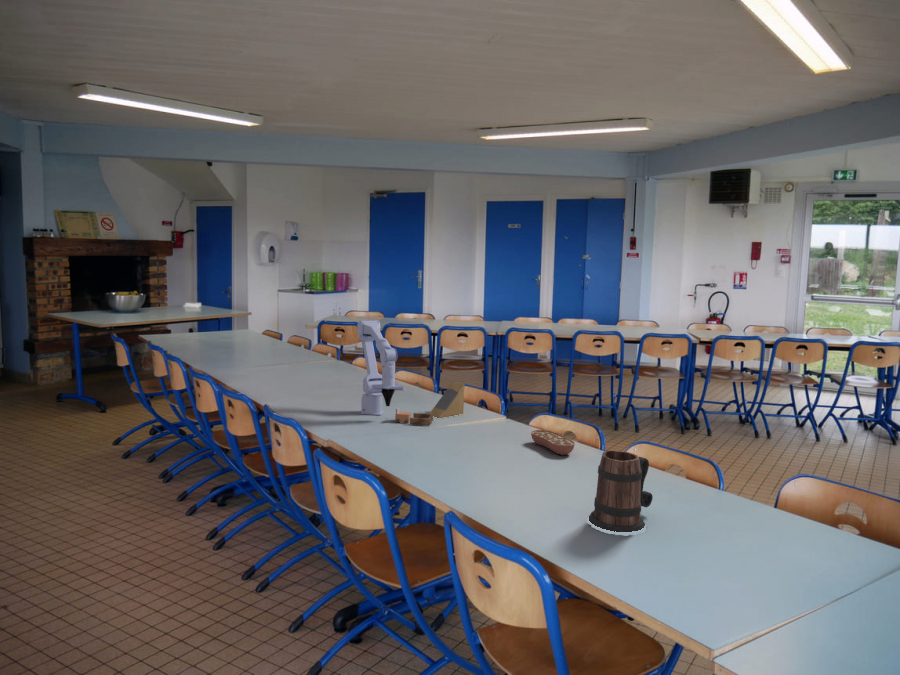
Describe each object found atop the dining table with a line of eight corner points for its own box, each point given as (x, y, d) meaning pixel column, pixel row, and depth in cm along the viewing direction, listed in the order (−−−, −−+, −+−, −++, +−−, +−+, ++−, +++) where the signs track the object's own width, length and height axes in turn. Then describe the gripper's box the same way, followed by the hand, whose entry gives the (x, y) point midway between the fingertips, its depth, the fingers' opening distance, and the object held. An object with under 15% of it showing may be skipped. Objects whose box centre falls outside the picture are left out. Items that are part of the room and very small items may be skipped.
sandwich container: (426, 415, 302) (427, 384, 300) (451, 411, 312) (452, 380, 310) (438, 419, 295) (439, 387, 293) (463, 415, 305) (464, 383, 303)
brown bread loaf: (526, 442, 262) (526, 430, 261) (546, 440, 266) (547, 428, 265) (558, 459, 241) (559, 446, 240) (580, 456, 245) (581, 443, 245)
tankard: (622, 541, 171) (626, 468, 169) (573, 520, 184) (577, 452, 182) (673, 521, 185) (678, 454, 183) (625, 503, 199) (629, 440, 196)
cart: (395, 423, 286) (395, 408, 285) (397, 419, 292) (398, 405, 291) (408, 423, 286) (408, 409, 285) (410, 420, 292) (411, 406, 291)
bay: (409, 424, 283) (409, 418, 283) (413, 419, 293) (413, 412, 293) (429, 425, 282) (430, 419, 282) (433, 420, 292) (433, 413, 292)
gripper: (370, 376, 284) (369, 406, 286) (402, 378, 282) (402, 408, 284) (374, 373, 291) (373, 403, 293) (405, 375, 289) (405, 405, 291)
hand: (387, 405), depth 289 cm, fingers closed
